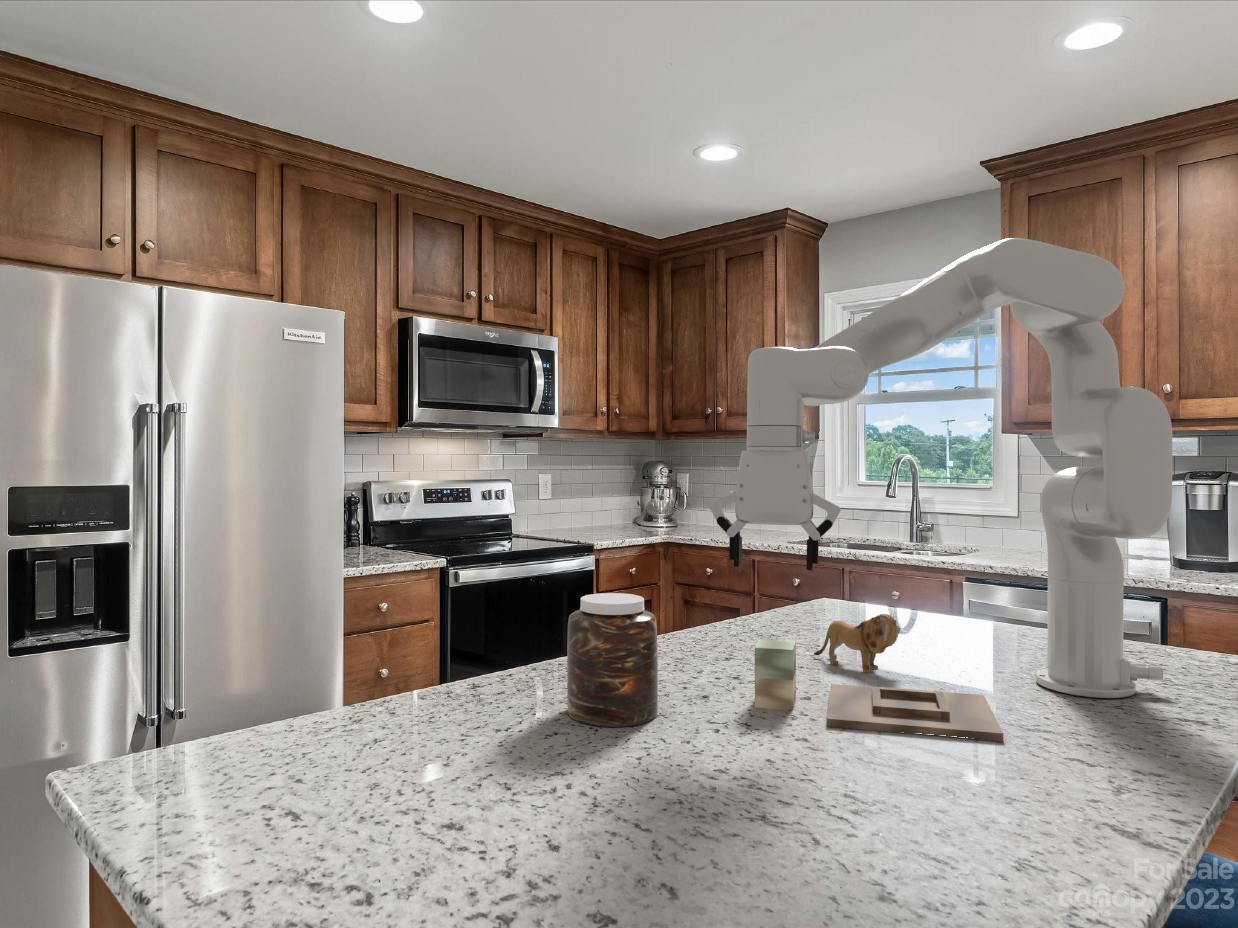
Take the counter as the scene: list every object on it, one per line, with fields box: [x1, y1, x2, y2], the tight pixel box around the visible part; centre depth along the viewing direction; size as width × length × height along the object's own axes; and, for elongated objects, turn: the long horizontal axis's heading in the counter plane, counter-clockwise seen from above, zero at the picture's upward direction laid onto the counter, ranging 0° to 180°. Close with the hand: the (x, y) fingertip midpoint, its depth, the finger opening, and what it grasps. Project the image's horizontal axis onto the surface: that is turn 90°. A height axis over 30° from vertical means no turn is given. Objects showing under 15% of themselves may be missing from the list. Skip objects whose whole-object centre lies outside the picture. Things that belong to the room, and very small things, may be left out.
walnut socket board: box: [826, 683, 1004, 743], centre depth 107 cm, size 20×16×2 cm
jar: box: [566, 592, 659, 728], centre depth 108 cm, size 12×12×15 cm
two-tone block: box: [754, 638, 797, 712], centre depth 112 cm, size 5×5×8 cm
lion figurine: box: [813, 613, 901, 674], centre depth 131 cm, size 15×5×9 cm, turn 45°
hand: (773, 567), depth 111 cm, fingers open, 9 cm apart
